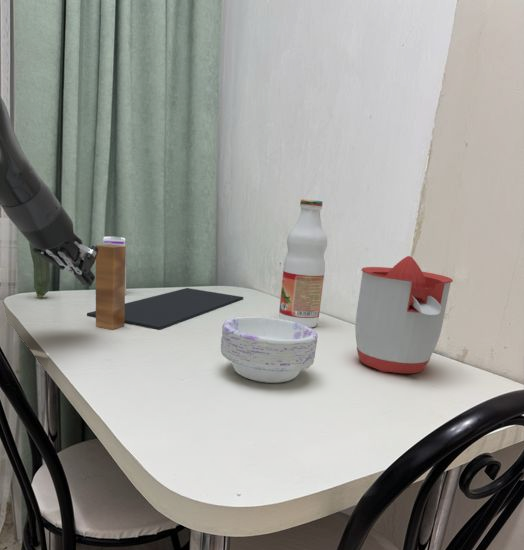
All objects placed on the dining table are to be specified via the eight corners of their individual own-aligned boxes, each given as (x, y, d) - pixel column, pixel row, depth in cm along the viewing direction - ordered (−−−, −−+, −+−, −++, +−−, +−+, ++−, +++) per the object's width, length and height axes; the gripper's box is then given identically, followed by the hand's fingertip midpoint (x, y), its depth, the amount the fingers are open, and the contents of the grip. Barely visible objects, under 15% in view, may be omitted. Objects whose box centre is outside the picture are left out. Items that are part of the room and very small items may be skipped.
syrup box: (126, 295, 132) (126, 239, 128) (102, 294, 131) (102, 237, 127) (125, 291, 138) (126, 237, 133) (102, 290, 136) (103, 235, 132)
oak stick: (112, 329, 99) (113, 247, 95) (95, 326, 100) (95, 245, 96) (124, 326, 103) (125, 246, 98) (108, 322, 104) (108, 244, 100)
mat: (159, 329, 102) (159, 326, 102) (86, 315, 108) (86, 313, 108) (243, 299, 142) (243, 296, 142) (186, 289, 148) (186, 287, 148)
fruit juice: (309, 330, 113) (324, 201, 105) (271, 323, 117) (283, 197, 109) (323, 323, 121) (338, 202, 113) (287, 316, 125) (299, 199, 117)
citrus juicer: (376, 383, 82) (396, 260, 77) (335, 351, 98) (349, 248, 93) (458, 383, 87) (483, 266, 81) (406, 352, 103) (424, 253, 97)
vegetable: (55, 298, 121) (52, 212, 115) (39, 300, 117) (36, 212, 112) (43, 295, 123) (40, 210, 117) (27, 297, 119) (23, 210, 114)
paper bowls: (331, 381, 81) (338, 334, 79) (258, 397, 72) (263, 343, 70) (271, 354, 93) (275, 312, 90) (201, 365, 83) (203, 318, 81)
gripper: (82, 199, 78) (128, 270, 93) (16, 192, 83) (70, 261, 97) (59, 234, 75) (110, 303, 90) (-9, 225, 79) (50, 292, 94)
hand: (89, 281), depth 93 cm, fingers closed
